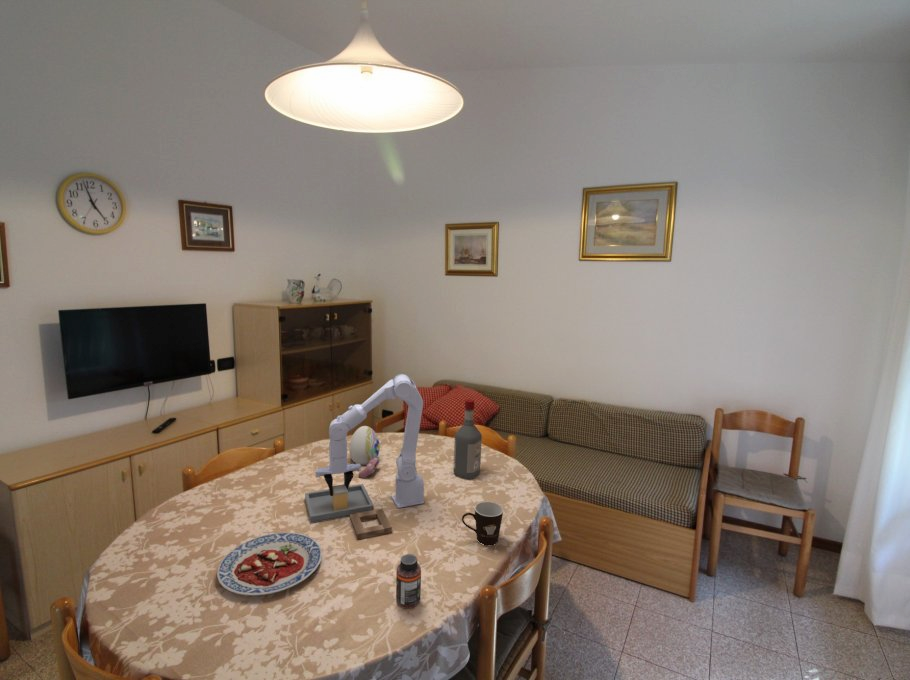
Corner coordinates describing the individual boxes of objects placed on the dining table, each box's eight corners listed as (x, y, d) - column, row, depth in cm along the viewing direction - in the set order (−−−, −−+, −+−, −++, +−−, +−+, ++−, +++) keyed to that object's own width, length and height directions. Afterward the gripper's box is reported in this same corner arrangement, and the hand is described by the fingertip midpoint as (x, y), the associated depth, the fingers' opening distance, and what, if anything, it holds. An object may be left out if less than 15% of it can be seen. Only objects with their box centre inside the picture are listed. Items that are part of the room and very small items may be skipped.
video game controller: (366, 483, 175) (374, 468, 173) (356, 476, 175) (364, 462, 173) (376, 472, 184) (383, 458, 183) (366, 466, 185) (374, 452, 183)
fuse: (344, 502, 156) (344, 484, 155) (347, 509, 151) (348, 491, 150) (331, 504, 154) (331, 486, 153) (334, 512, 149) (335, 493, 148)
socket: (382, 513, 151) (382, 508, 150) (392, 532, 140) (392, 527, 140) (349, 519, 146) (349, 514, 146) (357, 539, 136) (357, 534, 136)
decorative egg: (376, 468, 184) (376, 432, 182) (346, 466, 184) (346, 431, 182) (381, 455, 196) (382, 421, 194) (353, 454, 196) (353, 420, 194)
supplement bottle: (396, 592, 115) (397, 551, 113) (420, 591, 115) (421, 550, 114) (395, 610, 109) (396, 566, 107) (420, 609, 110) (421, 566, 108)
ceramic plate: (259, 618, 105) (258, 606, 105) (196, 575, 119) (196, 565, 118) (342, 560, 127) (342, 550, 126) (281, 529, 140) (281, 520, 140)
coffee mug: (504, 535, 141) (506, 504, 140) (497, 550, 133) (499, 519, 132) (468, 526, 145) (469, 497, 143) (459, 541, 137) (461, 510, 135)
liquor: (482, 472, 183) (485, 400, 178) (470, 481, 176) (474, 405, 171) (462, 466, 188) (465, 395, 183) (450, 474, 180) (453, 401, 176)
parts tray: (362, 489, 166) (362, 483, 166) (373, 511, 152) (373, 505, 151) (305, 499, 158) (305, 493, 158) (310, 523, 144) (310, 516, 143)
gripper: (357, 447, 159) (357, 484, 161) (314, 453, 153) (314, 491, 155) (362, 455, 152) (362, 494, 154) (316, 461, 146) (317, 501, 149)
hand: (338, 493), depth 154 cm, fingers closed on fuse, 4 cm apart
